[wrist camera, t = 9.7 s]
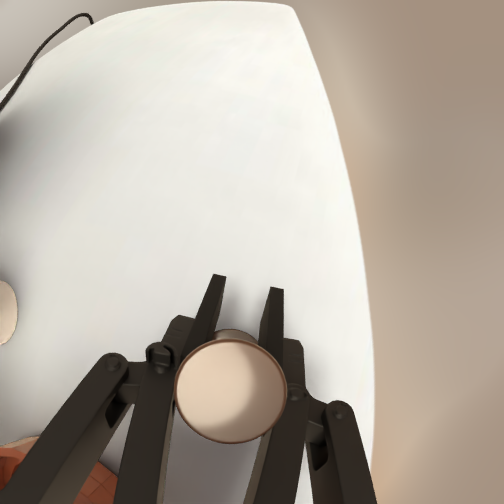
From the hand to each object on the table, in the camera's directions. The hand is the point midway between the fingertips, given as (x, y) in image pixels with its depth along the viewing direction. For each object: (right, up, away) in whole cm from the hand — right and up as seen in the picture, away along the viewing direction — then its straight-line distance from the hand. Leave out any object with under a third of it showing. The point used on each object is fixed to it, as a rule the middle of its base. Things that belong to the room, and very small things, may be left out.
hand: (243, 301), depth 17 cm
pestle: (-1, -5, +4) cm, 7 cm away
